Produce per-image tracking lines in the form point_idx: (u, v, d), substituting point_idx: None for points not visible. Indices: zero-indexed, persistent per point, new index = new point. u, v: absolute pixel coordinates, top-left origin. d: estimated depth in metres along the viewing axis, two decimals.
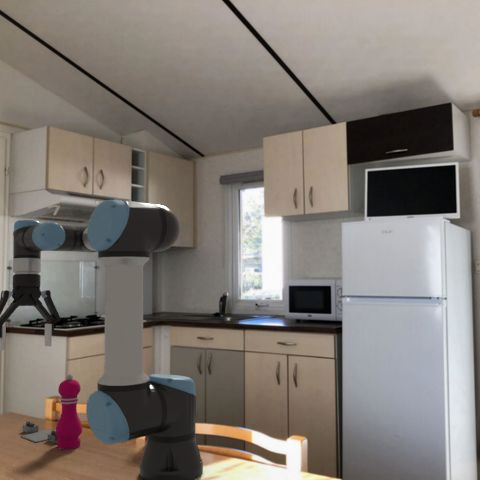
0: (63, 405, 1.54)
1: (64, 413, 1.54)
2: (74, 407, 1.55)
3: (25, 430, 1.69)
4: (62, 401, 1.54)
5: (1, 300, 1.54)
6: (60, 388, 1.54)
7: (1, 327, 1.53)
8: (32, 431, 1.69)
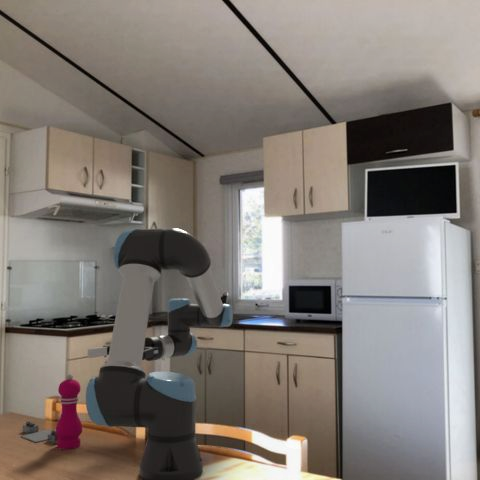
0: (63, 405, 1.54)
1: (64, 413, 1.54)
2: (74, 407, 1.55)
3: (25, 430, 1.69)
4: (62, 401, 1.54)
5: None
6: (60, 388, 1.54)
7: None
8: (32, 431, 1.69)
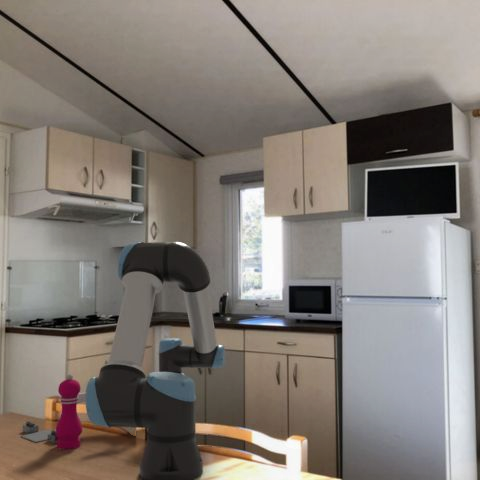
0: (63, 405, 1.54)
1: (64, 413, 1.54)
2: (74, 407, 1.55)
3: (25, 430, 1.69)
4: (62, 401, 1.54)
5: None
6: (60, 388, 1.54)
7: None
8: (32, 431, 1.69)
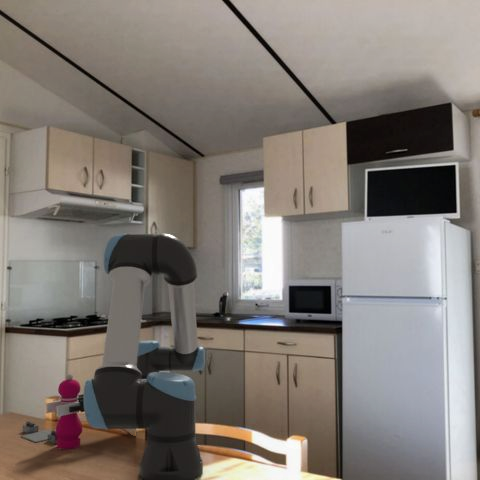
0: None
1: None
2: None
3: (25, 430, 1.69)
4: (62, 401, 1.54)
5: None
6: (60, 388, 1.54)
7: None
8: (32, 431, 1.69)
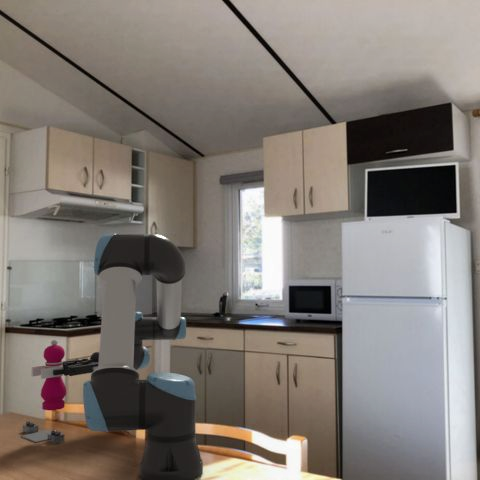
0: None
1: None
2: None
3: (25, 430, 1.69)
4: (47, 365, 1.63)
5: None
6: (45, 353, 1.63)
7: None
8: (32, 431, 1.69)
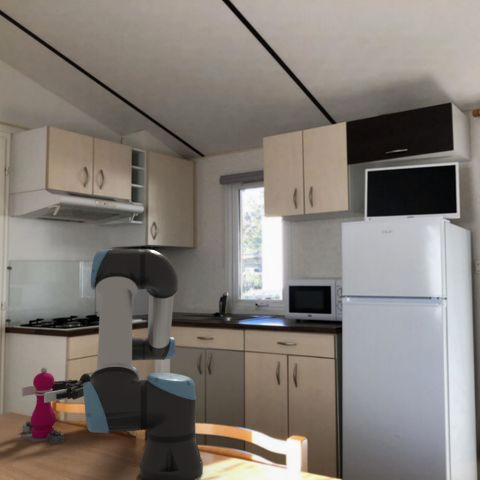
0: (37, 397, 1.64)
1: (38, 405, 1.64)
2: None
3: (25, 430, 1.69)
4: (36, 393, 1.64)
5: None
6: (35, 381, 1.64)
7: None
8: None
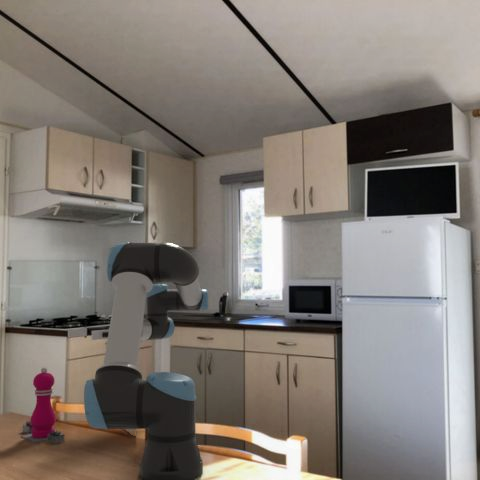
0: (37, 397, 1.64)
1: (38, 405, 1.64)
2: (48, 398, 1.65)
3: (25, 430, 1.69)
4: (36, 393, 1.64)
5: None
6: (35, 381, 1.64)
7: None
8: None
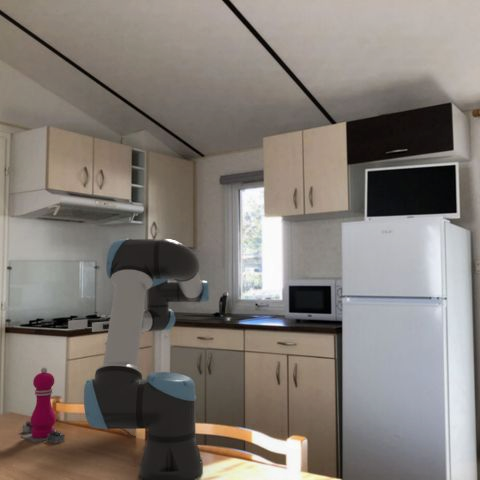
0: (37, 397, 1.64)
1: (38, 405, 1.64)
2: (48, 398, 1.65)
3: (25, 430, 1.69)
4: (36, 393, 1.64)
5: None
6: (35, 381, 1.64)
7: None
8: None
